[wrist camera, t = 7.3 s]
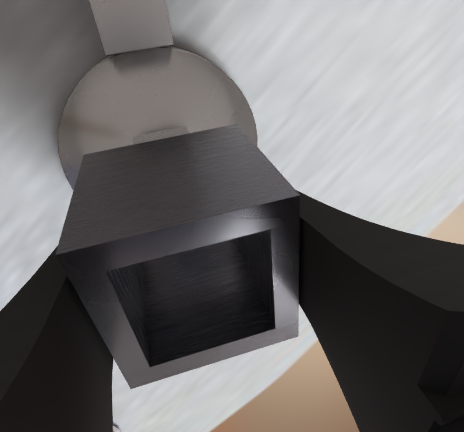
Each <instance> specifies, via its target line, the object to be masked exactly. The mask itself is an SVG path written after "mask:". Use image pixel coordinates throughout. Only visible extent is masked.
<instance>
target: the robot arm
mask: <svg viewBox="0 0 464 432" xmlns="http://www.w3.org/2000/svg"><path fill="white" fill-rule="evenodd" d="M296 191H297V190H296ZM297 192H298V194H299V195H300V231H299V305H300V306H301V308H302V309H303V311H304V313H305V314H306V316H307V318H308V320H309V322H310V323H311V325H312V327H313V329H314V331H315V333H316V335H317V338H318V340H319V342H320V344H321V346H322V348H323V350H324V352H325V354H326V356H327V359H328V361H329V363H330V365H331V367H332V369H333V371H334V374H335V376H336V378H337V380H338V383H339V385H340V387H341V389H342V392H343V394H344V396H345V399H346V401H347V403H348V405H349V408H350V410H351V412H352V415H353V417H354V419H355V422H356V424H357V426H358V429H359V431H360V432H464V245H462V244H456V243H451V242H445V241H440V240H435V239H431V238H427V237H422V236H418V235H414V234H410V233H406V232H402V231H398V230H395V229H391V228H388V227H385V226H382V225H378V224H375V223H372V222H369V221H366V220H363V219H360V218H358V217H355V216H352V215H350V214H347V213H345V212H342V211H340V210H337V209H335V208H333V207H331V206H328V205H326V204H324V203H322V202H319V201H317V200H315V199H313V198H311V197H309V196H307V195H305V194H303V193H301V192H299V191H297ZM57 248H58V246H57V247H56V248H55V250H54V251H53V252H52V253H51V255H50V256H49V257H48V258H47V259H46V261H45V262H44V263H43V264H42V265H41V267H40V268H39V269H38V270H37V271H36V273H35V274H34V275H33V276H32V277H31V278H30V280H29V281H28V282H27V283H26V284H25V285H24V286H23V287H22V288H21V289H20V291H19V292H18V293H17V294H16V295H15V296H14V297H13V298H12V299H11V300H10V302H9V303H8V304H7V305H6V306H5V307H4V308H3V309H2V310H1V311H0V432H113V416H112V369H113V356H112V354H111V353H110V351H109V349H108V347H107V346H106V344H105V342H104V340H103V338H102V337H101V335H100V333H99V331H98V329H97V328H96V326H95V324H94V322H93V321H92V319H91V317H90V315H89V313H88V312H87V310H86V308H85V306H84V305H83V303H82V301H81V299H80V297H79V296H78V294H77V292H76V290H75V289H74V287H73V285H72V283H71V281H70V280H69V278H68V276H67V274H66V273H65V271H64V269H63V267H62V265H61V264H60V262H59V260H58V258H57V256H56V251H57Z"/></svg>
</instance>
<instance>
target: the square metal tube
mask: <svg viewBox="0 0 464 432" xmlns="http://www.w3.org/2000/svg"><path fill="white" fill-rule="evenodd" d="M299 231H300V195H299V194H298V192H297V191H296V190H295V189H294V188H293V187H292V186H291V185H290V183H289V182H288V181H287V180H286V179H285V178H284V177H283V176H282V174H281V173H280V172H279V171H278V170H277V169H276V168H275V167H274V165H273V164H272V163H271V162H270V161H269V160H268V159H267V158H266V156H265V155H264V154H263V153H262V152H261V151H260V150H259V149H258V147H257V146H256V145H255V144H254V143H253V142H252V141H251V140H250V138H249V137H248V136H247V135H246V134H245V133H244V132H243V131H242V129H241V128H240V127H239V126H238V125H237V124H233V125H228V126H223V127H218V128H213V129H208V130H203V131H198V132H193V133H188V134H183V135H178V136H173V137H168V138H163V139H158V140H153V141H149V142H144V143H139V144H134V145H129V146H124V147H119V148H114V149H109V150H104V151H99V152H94V153H89V154H84V155H83V159H82V163H81V166H80V170H79V173H78V177H77V180H76V184H75V187H74V191H73V194H72V198H71V202H70V205H69V209H68V212H67V216H66V219H65V223H64V226H63V230H62V234H61V237H60V241H59V244H58V248H57V251H56V256H57V258H58V260H59V262H60V264H61V265H62V267H63V269H64V271H65V273H66V274H67V276H68V278H69V280H70V281H71V283H72V285H73V287H74V289H75V290H76V292H77V294H78V296H79V297H80V299H81V301H82V303H83V305H84V306H85V308H86V310H87V312H88V313H89V315H90V317H91V319H92V321H93V322H94V324H95V326H96V328H97V329H98V331H99V333H100V335H101V337H102V338H103V340H104V342H105V344H106V346H107V347H108V349H109V351H110V353H111V354H112V356H113V358H114V360H115V362H116V363H117V365H118V367H119V369H120V370H121V372H122V374H123V376H124V378H125V379H126V381H127V383H128V385H129V386H130V388H131V389H132V388H136V387H139V386H142V385H145V384H148V383H151V382H155V381H158V380H161V379H164V378H167V377H170V376H174V375H177V374H180V373H183V372H186V371H190V370H193V369H196V368H199V367H202V366H205V365H209V364H212V363H215V362H218V361H221V360H224V359H228V358H231V357H234V356H237V355H240V354H244V353H247V352H250V351H253V350H256V349H259V348H263V347H266V346H269V345H272V344H275V343H278V342H282V341H285V340H288V339H291V338H294V337H298V312H299Z"/></svg>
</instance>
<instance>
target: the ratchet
mask: <svg viewBox="0 0 464 432" xmlns="http://www.w3.org/2000/svg"><path fill="white" fill-rule="evenodd" d="M89 2H90V5H91V9H92V12H93V15H94V19H95V22H96V25H97V28H98V32H99V35H100V38H101V42H102V45H103V48H104V52H105V55H109V54H112V55H110V56H109V57H107V58H105V59H103V60H102V61H100V62H99V63H97V64H96V65H95V66H94V67H92V68H91V69H90V70H89V71H88V72H87V73H86V74H85V75H84V76H83V77H82V79H81V80H80V81H79V82H78V84H77V85H76V87H75V88H74V90H73V92H72V93H71V95H70V96H69V98H68V100H67V103H66V105H65V107H64V110H63V112H62V116H61V120H60V124H59V132H58V148H59V155H60V160H61V165H62V167H63V170H64V173H65V176H66V178H67V180H68V181H69V183H70V185H71V187H72V189H73V190H74V187H75V184H76V180H77V177H78V173H79V170H80V166H81V163H82V159H83V155H84V154H89V153H94V152H99V151H104V150H109V149H114V148H119V147H124V146H129V145H134V144H139V143H144V142H149V141H153V140H158V139H163V138H168V137H173V136H178V135H183V134H188V133H193V132H198V131H203V130H208V129H213V128H218V127H223V126H228V125H233V124H237V125H238V126H239V127H240V128H241V129H242V131H243V132H244V133H245V134H246V135H247V136H248V137H249V138H250V140H251V141H252V142H253V143H254V144H255V145H256V146H257V131H256V124H255V121H254V117H253V113H252V111H251V109H250V106H249V104H248V102H247V100H246V98H245V97H244V95H243V93H242V92H241V90H240V89H239V88H238V86H237V85H236V84H235V83H234V81H233V80H232V79H231V78H229V77H228V76H227V75H226V74H225V73H224V72H223V71H222V70H220V69H219V68H218V67H216V66H215V65H214V64H212V63H211V62H209V61H208V60H206V59H204V58H203V57H201V56H199V55H197V54H195V53H192V52H189V51H187V50H184V49H181V48H176V47H171V46H167V45H173V39H172V33H171V28H170V23H169V17H168V12H167V7H166V2H165V0H89Z"/></svg>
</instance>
